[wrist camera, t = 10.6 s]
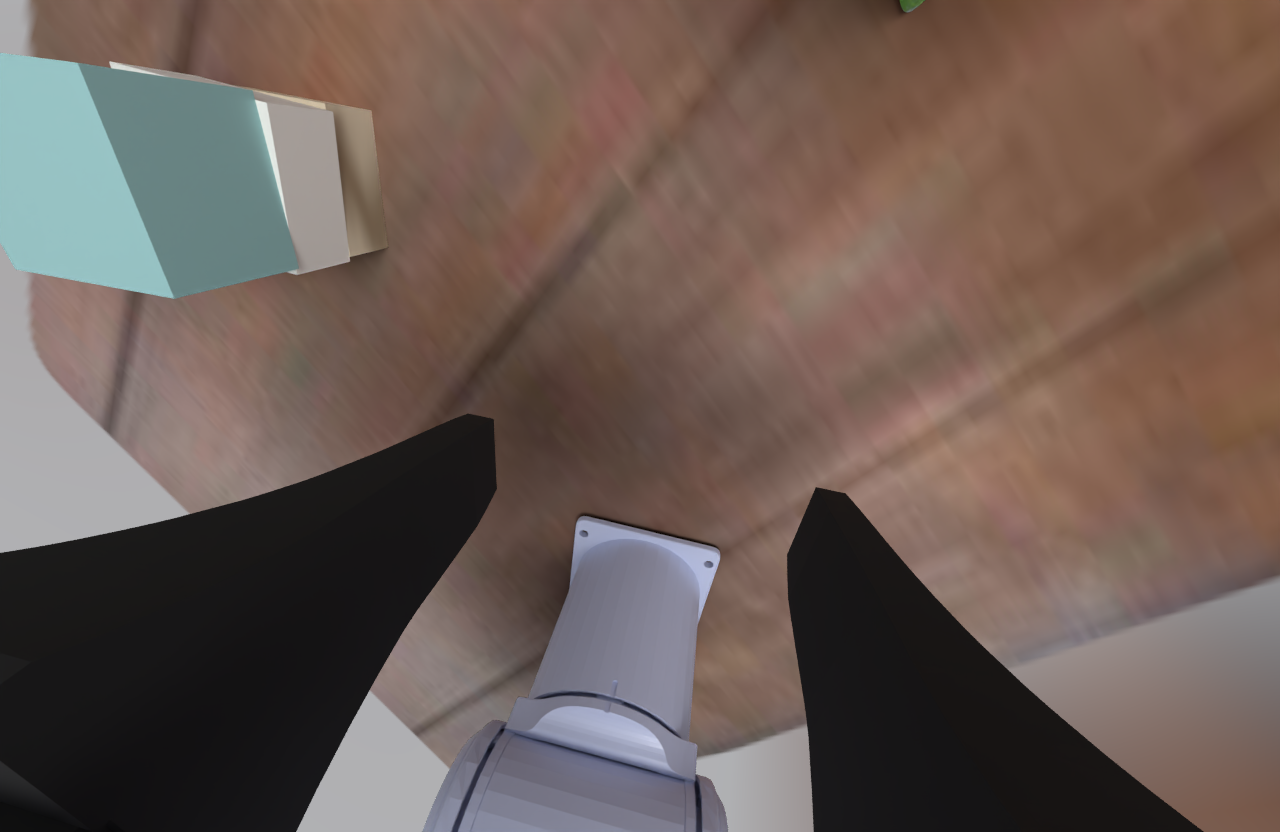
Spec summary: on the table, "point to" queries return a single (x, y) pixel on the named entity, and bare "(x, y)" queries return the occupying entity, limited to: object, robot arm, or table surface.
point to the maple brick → (355, 173)
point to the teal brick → (135, 180)
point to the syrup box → (910, 4)
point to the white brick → (298, 173)
